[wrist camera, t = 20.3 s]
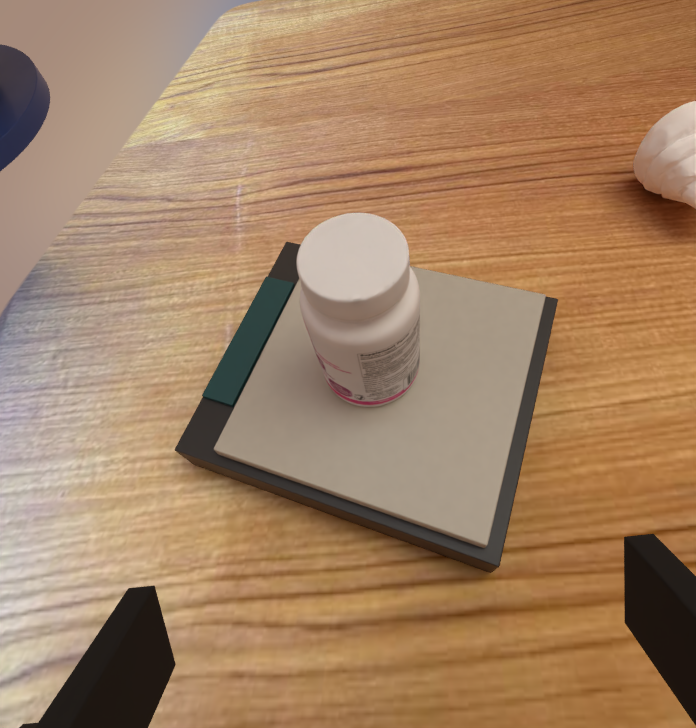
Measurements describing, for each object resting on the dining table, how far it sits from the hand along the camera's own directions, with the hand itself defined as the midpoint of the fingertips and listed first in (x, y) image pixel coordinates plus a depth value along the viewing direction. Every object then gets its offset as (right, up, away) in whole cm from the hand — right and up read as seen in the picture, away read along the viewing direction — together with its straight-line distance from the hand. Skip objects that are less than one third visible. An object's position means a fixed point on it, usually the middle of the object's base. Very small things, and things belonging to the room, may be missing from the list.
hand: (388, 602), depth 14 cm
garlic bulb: (+20, +17, +17) cm, 31 cm away
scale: (0, +5, +14) cm, 15 cm away
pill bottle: (0, +7, +11) cm, 13 cm away
